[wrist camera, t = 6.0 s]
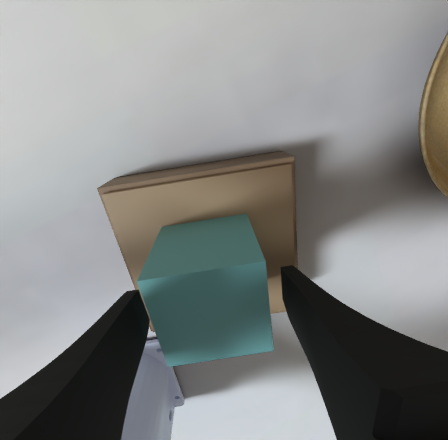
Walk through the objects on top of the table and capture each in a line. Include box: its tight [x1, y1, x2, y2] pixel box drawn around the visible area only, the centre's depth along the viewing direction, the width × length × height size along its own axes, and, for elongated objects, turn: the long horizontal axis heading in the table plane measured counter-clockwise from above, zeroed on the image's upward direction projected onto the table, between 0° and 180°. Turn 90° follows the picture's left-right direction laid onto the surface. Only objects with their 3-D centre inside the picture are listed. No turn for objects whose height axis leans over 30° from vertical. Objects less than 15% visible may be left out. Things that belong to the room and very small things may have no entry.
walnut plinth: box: [97, 151, 297, 332], centre depth 16 cm, size 11×11×3 cm
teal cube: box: [137, 213, 274, 367], centre depth 12 cm, size 5×5×5 cm
